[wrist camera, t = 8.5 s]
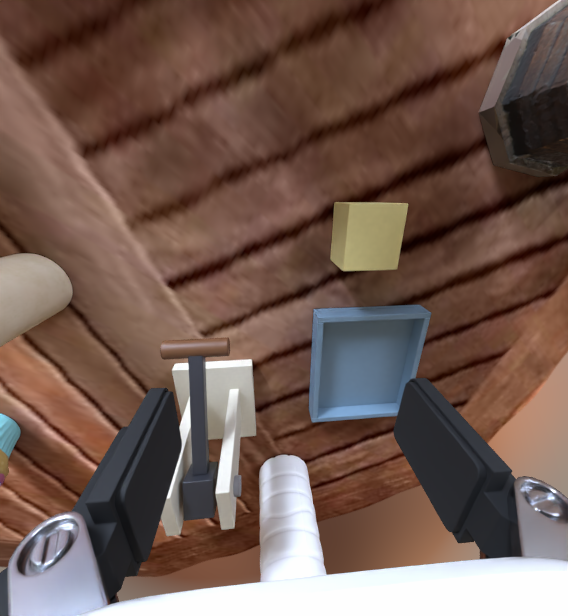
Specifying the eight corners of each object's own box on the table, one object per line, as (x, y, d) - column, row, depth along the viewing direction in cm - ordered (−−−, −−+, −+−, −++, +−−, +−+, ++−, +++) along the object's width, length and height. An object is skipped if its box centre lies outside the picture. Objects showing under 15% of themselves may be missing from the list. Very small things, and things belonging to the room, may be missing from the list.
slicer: (174, 363, 27) (121, 474, 16) (252, 359, 28) (249, 462, 17) (188, 433, 31) (153, 559, 20) (256, 427, 32) (256, 546, 21)
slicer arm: (168, 339, 21) (157, 342, 19) (230, 336, 22) (226, 339, 19) (174, 499, 21) (163, 523, 19) (236, 493, 22) (233, 515, 19)
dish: (313, 308, 26) (317, 317, 24) (419, 304, 27) (431, 312, 25) (308, 408, 31) (311, 422, 30) (397, 402, 32) (406, 415, 30)
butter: (334, 202, 22) (349, 203, 19) (384, 202, 23) (408, 203, 19) (330, 260, 24) (342, 271, 21) (376, 258, 25) (397, 270, 21)
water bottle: (248, 471, 35) (233, 998, 12) (286, 445, 34) (348, 980, 11) (290, 498, 38) (340, 956, 15) (325, 475, 37) (438, 938, 14)
